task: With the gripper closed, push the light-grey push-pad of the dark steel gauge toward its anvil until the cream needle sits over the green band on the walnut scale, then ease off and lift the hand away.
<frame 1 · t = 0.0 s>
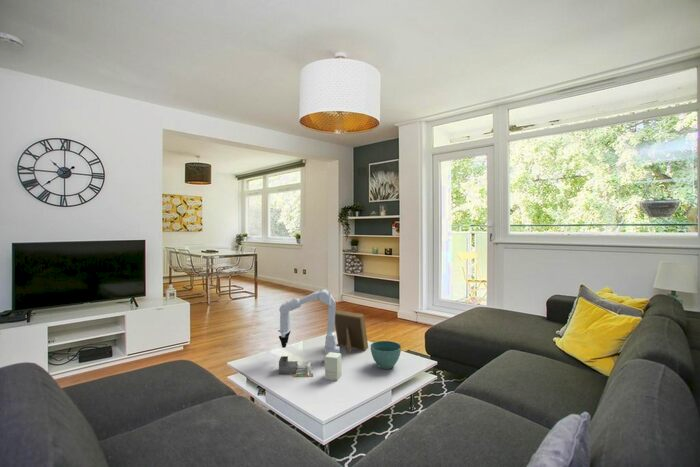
hand: (284, 345, 216), 10 cm above the table, tool pointing down, fingers open, 7 cm apart
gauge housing: (288, 371, 202), on the table
teal rounded bowl: (385, 366, 209), on the table
gauge plunger: (301, 368, 200), point 2 cm above the table, slide at 0.0 cm
photo frame: (348, 349, 236), on the table
supplement box: (333, 377, 194), on the table
gauge scale: (303, 375, 196), on the table
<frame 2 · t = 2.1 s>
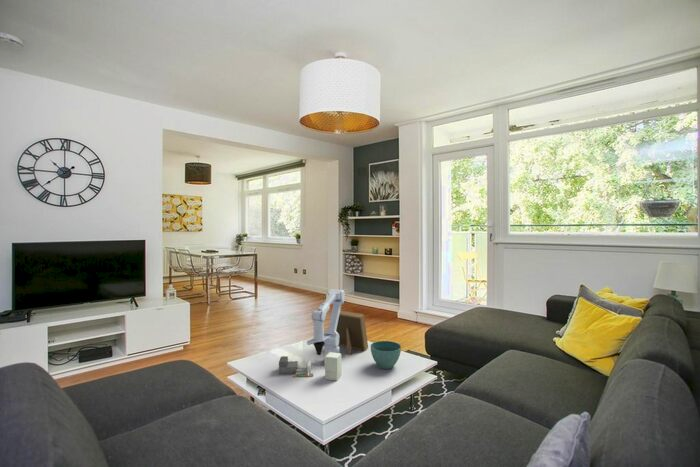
hand: (318, 354, 202), 9 cm above the table, tool pointing down, fingers closed
nothing on the table moved.
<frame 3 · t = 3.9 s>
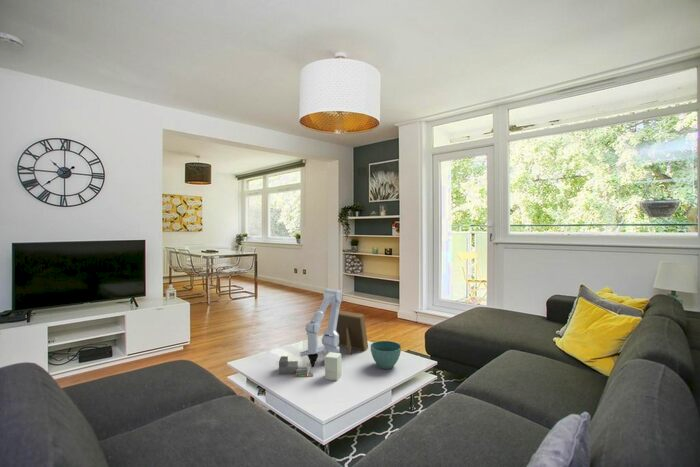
hand: (312, 366, 203), 2 cm above the table, tool pointing down, fingers closed
gauge plunger: (300, 368, 200), point 2 cm above the table, slide at 0.3 cm, touching gripper
everything else where it was.
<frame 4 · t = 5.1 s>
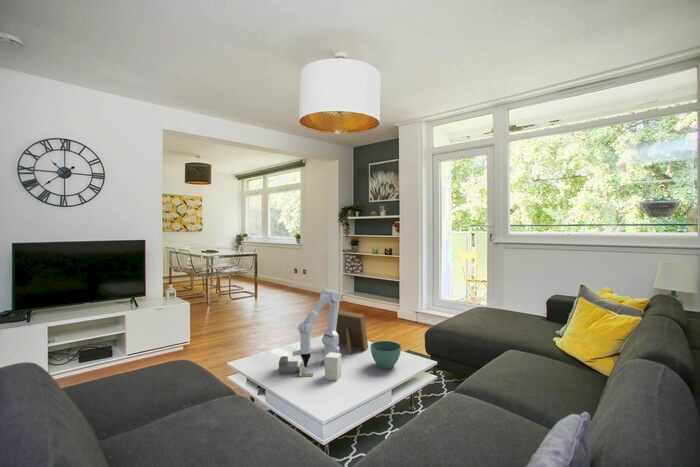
hand: (305, 366, 202), 2 cm above the table, tool pointing down, fingers closed
gauge plunger: (293, 368, 200), point 2 cm above the table, slide at 4.3 cm, touching gripper
everything else where it was.
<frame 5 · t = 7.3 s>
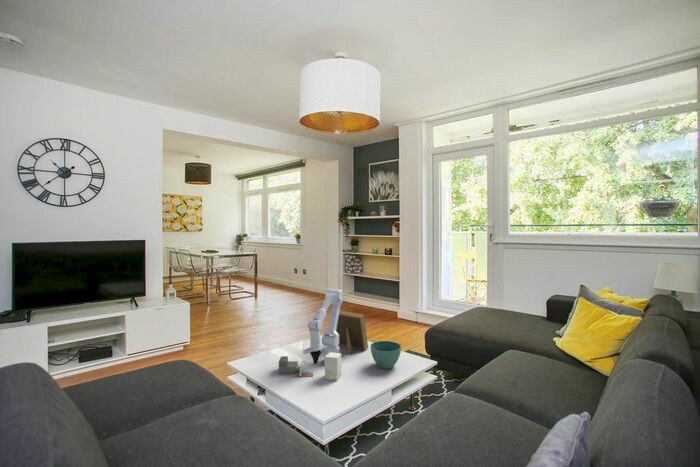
hand: (315, 363, 203), 4 cm above the table, tool pointing down, fingers closed
gauge plunger: (293, 368, 200), point 2 cm above the table, slide at 4.4 cm
everything else where it was.
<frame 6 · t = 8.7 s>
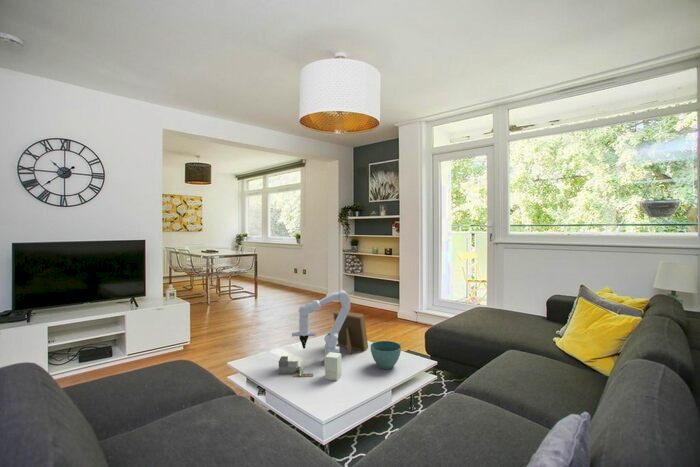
hand: (304, 347, 213), 9 cm above the table, tool pointing down, fingers closed
nothing on the table moved.
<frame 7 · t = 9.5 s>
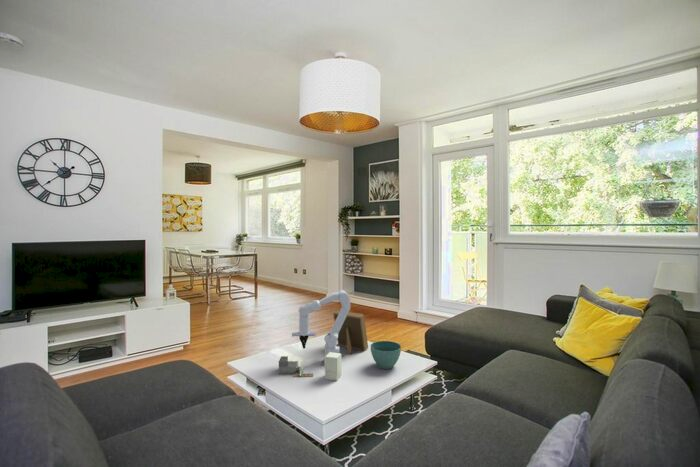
hand: (304, 347, 213), 9 cm above the table, tool pointing down, fingers closed
nothing on the table moved.
at the end: gauge plunger slide at 4.4 cm; supplement box moved 0.3 cm from its start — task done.
